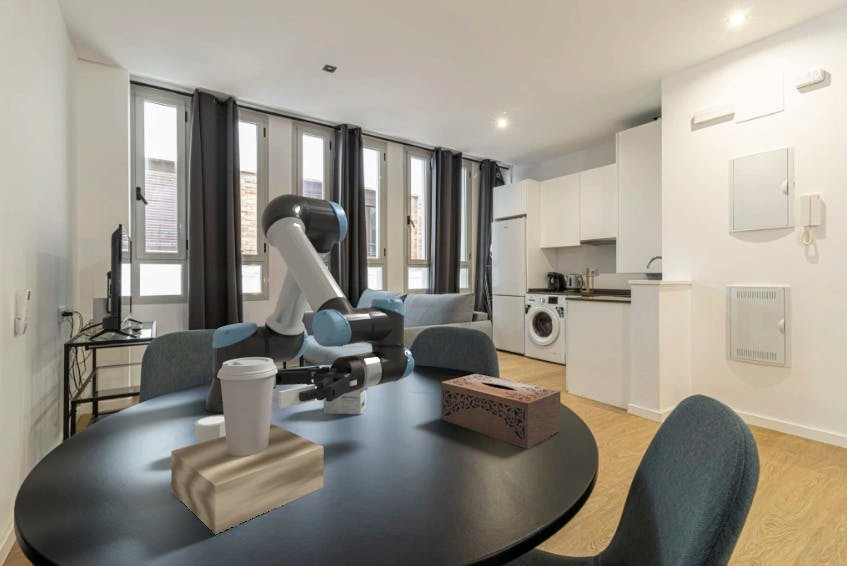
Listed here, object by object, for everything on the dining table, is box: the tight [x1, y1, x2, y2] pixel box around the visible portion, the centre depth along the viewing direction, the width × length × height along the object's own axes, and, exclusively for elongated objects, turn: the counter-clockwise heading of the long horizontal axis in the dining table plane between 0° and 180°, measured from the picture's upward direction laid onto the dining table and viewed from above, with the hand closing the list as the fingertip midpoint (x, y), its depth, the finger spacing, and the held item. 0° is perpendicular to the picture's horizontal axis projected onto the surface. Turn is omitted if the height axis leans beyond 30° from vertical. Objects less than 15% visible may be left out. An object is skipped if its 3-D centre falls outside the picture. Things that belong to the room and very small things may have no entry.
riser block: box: [170, 422, 325, 534], centre depth 70 cm, size 18×18×7 cm
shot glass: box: [193, 414, 226, 444], centre depth 84 cm, size 7×7×7 cm
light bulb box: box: [323, 389, 368, 415], centre depth 113 cm, size 11×7×11 cm, turn 84°
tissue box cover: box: [440, 373, 561, 449], centre depth 101 cm, size 26×14×10 cm, turn 44°
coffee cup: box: [217, 357, 279, 456], centre depth 70 cm, size 10×10×15 cm
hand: (259, 392), depth 71 cm, fingers open, 13 cm apart
